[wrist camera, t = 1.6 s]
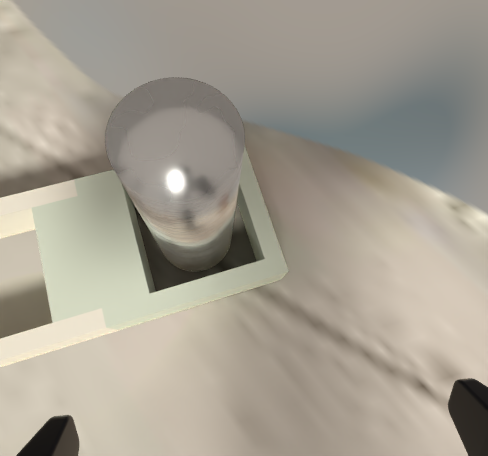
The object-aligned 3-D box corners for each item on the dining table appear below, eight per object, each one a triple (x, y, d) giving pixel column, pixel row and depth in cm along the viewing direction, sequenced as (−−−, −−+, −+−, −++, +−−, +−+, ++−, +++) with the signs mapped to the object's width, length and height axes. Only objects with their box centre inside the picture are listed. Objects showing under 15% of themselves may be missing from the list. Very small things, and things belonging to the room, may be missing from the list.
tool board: (239, 160, 26) (242, 137, 23) (279, 280, 23) (288, 271, 21) (-76, 242, 23) (-118, 227, 20) (-61, 386, 21) (-106, 393, 18)
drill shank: (187, 286, 23) (157, 229, 12) (144, 229, 24) (77, 121, 12) (245, 242, 24) (272, 150, 13) (203, 189, 25) (191, 56, 13)
